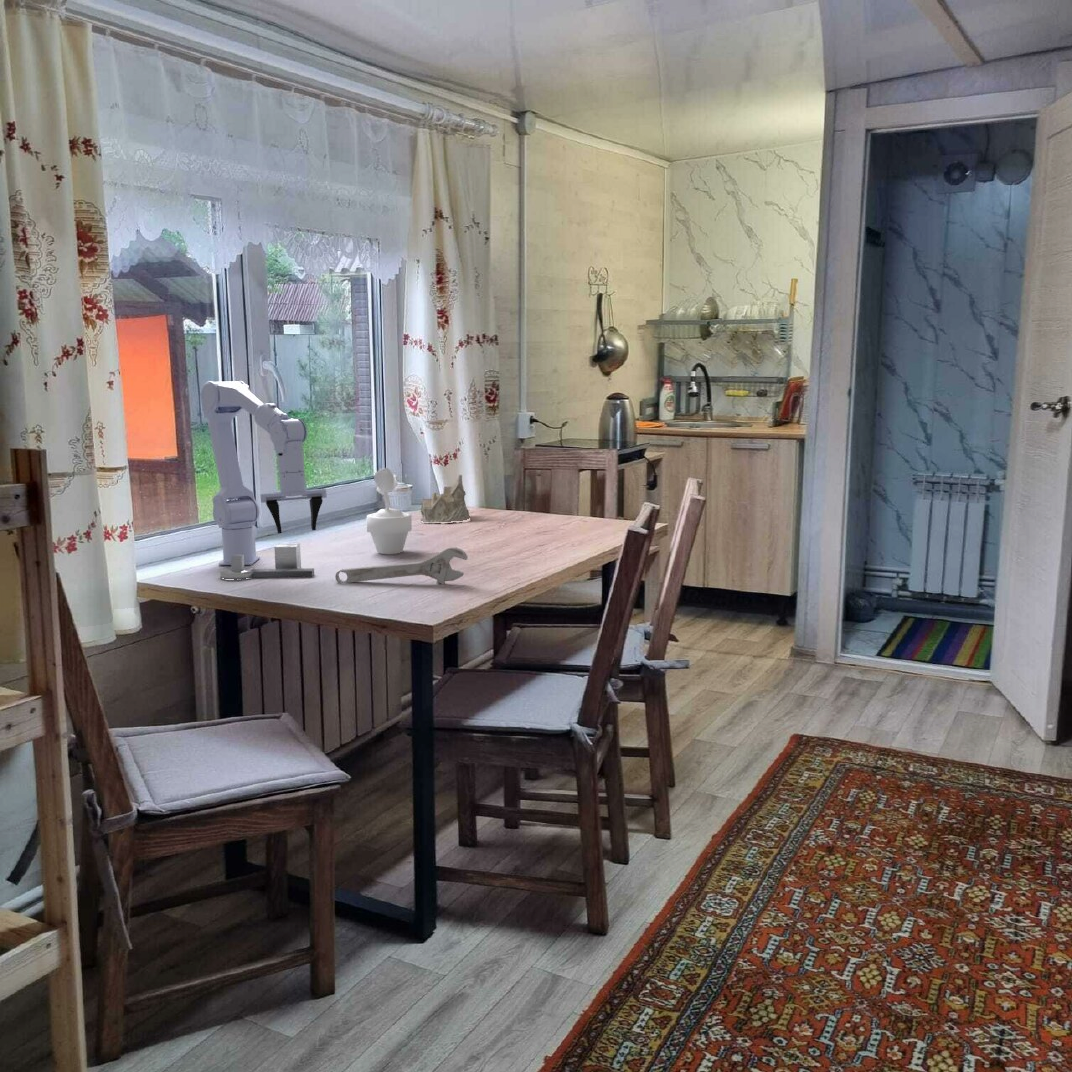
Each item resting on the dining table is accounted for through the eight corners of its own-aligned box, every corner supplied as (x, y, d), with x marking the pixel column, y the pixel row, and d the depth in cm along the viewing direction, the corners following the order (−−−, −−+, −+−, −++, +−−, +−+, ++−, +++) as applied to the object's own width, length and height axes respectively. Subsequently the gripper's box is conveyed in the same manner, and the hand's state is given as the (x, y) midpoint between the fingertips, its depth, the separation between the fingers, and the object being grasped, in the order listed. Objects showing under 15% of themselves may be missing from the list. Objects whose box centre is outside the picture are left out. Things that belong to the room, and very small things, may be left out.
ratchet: (225, 573, 236) (224, 552, 235) (316, 572, 236) (315, 551, 236) (216, 580, 228) (214, 559, 227) (310, 579, 229) (309, 557, 228)
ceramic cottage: (470, 515, 324) (467, 469, 321) (471, 525, 308) (467, 476, 305) (422, 519, 323) (418, 473, 320) (420, 529, 307) (415, 480, 304)
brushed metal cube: (280, 568, 241) (278, 543, 240) (301, 567, 242) (300, 543, 241) (275, 572, 237) (274, 547, 236) (297, 572, 237) (296, 546, 236)
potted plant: (404, 557, 254) (402, 458, 250) (360, 555, 257) (357, 457, 253) (420, 548, 267) (417, 453, 262) (378, 547, 269) (375, 453, 265)
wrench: (340, 594, 227) (470, 581, 224) (337, 595, 226) (469, 583, 222) (334, 559, 226) (466, 545, 223) (332, 560, 224) (464, 547, 221)
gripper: (260, 475, 224) (265, 536, 226) (326, 470, 229) (331, 530, 230) (257, 473, 231) (263, 532, 232) (322, 469, 235) (326, 527, 237)
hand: (296, 531), depth 232 cm, fingers open, 7 cm apart
